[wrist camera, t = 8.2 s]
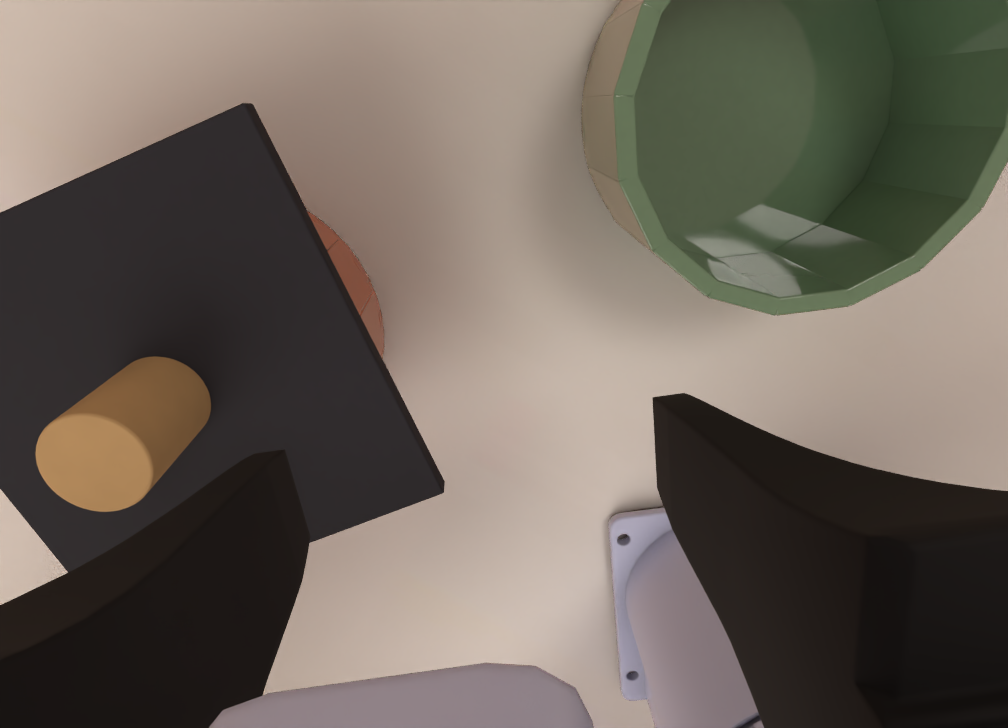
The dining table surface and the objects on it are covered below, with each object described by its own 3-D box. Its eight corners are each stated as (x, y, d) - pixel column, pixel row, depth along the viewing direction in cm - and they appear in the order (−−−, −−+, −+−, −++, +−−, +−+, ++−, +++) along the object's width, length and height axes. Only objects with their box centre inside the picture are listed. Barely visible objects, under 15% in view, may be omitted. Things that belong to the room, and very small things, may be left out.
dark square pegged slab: (445, 482, 19) (438, 573, 15) (115, 605, 20) (34, 718, 16) (252, 102, 15) (180, 100, 11) (-143, 281, 16) (-327, 332, 12)
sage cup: (880, 247, 22) (1000, 288, 17) (592, 283, 22) (626, 335, 17) (912, -96, 19) (1074, -172, 14) (567, -51, 19) (602, -110, 14)
